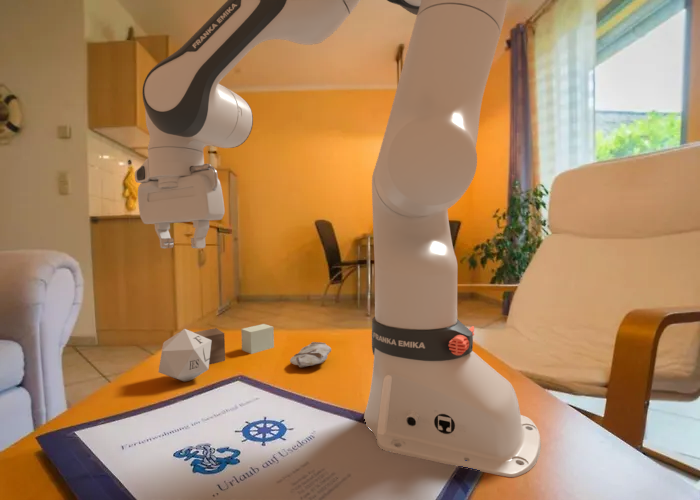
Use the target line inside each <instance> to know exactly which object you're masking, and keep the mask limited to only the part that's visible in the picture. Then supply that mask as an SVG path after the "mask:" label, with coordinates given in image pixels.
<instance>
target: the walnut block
mask: <svg viewBox="0 0 700 500" xmlns="http://www.w3.org/2000/svg"><path fill="white" fill-rule="evenodd" d="M193 332H194V333H196V334H198V335H201V336H203V337H205V338H208V339H210V340H212V342H211V351H210V359H209V365H212V364H213V365H214V364H217V363H222V362H225V361H226V350H225V349H226V347H225V346H226V344H225V342H226V341H225V332H223V331H222V330H220V329H218V328H210V329H209V328H208V329H204V330H199V331H193Z"/></svg>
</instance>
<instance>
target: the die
mask: <svg viewBox="0 0 700 500" xmlns="http://www.w3.org/2000/svg"><path fill="white" fill-rule="evenodd" d="M194 332H195V331H191V330H188V329H186V328H183V329H181V330H180V331H179V332H177V333H176V334H174V335H172V336H171V337H170V338H168V339H167V340H165V341H164V342H163V343H162V348H161V355H160V361H159V366H158V373H159V374H162V375H165V376H167V377H170V378H173V379H175V380H178V381H181V382H184V383H185V382H190V381H192V380H194V379H195V378H197V377H199V376H200V375H202V374H203V373H205V372H207V371H208V370H209V367H210V364H209V359H210V351H211V342H212V340H210V339H208V338H205V337H203V336H201V335H198V334H196V333H194Z"/></svg>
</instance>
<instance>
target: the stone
mask: <svg viewBox="0 0 700 500" xmlns="http://www.w3.org/2000/svg"><path fill="white" fill-rule="evenodd" d="M331 352H332V348H331V347H330V346H329V345H327V344H326V343H325V342H320V341H318V342H317V341H311V343H309V344H308V345H305V346H304V347H302V348H301V349H300V351H298V353H296V354H294V356H292V357H290V359H289V361H290V364H293V365H295V366H298V368H307V367H309V366H315V365H320V364H323V363H324V362H325V361H326V360H327V359H328V355H329V354H330V353H331Z"/></svg>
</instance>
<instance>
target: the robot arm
mask: <svg viewBox="0 0 700 500" xmlns="http://www.w3.org/2000/svg"><path fill="white" fill-rule="evenodd" d="M361 1H362V0H227V1H226V2H225V3H223V4H222V6H220V7H219V8H218V9H217V11H216V12H215V13H214V14H212V16H211V17H210V18H209V19H208V20H207V21H206V22H205V23H204V24H203V25H202V26H201V27H200V28H199V29H198V30H197V31H196V32H195V33H194V34H192V36H191V37H190V38H188V40H187V41H186V42H185V43H184V44H183V45H182V46H181V47H180V48H179V49H177V50H176V51H174V53H172V54H170V55H169V56H167V57H166V58H164V59H162V60H161V61H160V62H159V63H157V64H156V65H155V66H154V67H152V69H150V71H149V72H148V73H147V75H146V76H145V79H144V81H143V85H142V93H141V94H142V100H143V101H142V102H143V105H144V110H145V113H144V114H145V124H146V129H147V130H148V134H149V141H148V144H147V145H148V146H147V158H146V159H145V160H144V162H143V163H142V165H140V166H139V167H138V168H137V169H136V171H135V172H134V180H135V182H136V183H138V187H137V188H138V189H137V203H138V209H139V212H138V213H139V217H140V219H141V222H142V223H143V224H144V225H150V224H151V225H154V231H155V233H156V235H157V237H158V239H159V247H160V248H161V249H173V248H174V241H175V240H174V238H173V237H171V232H170V230H171V225H170V224H175V223H176V224H177V223H189V222H191V223H192V227H193V229H195V230H194V234H193V237H191V238H190V243H191V244H190V245H191V246H190V247H191V248H192V249H205V248H206V238H207V235H208V231H209V230H210V221H220V220H223V217H224V215H225V213H226V212H225V209H226V208H225V203H224V195H223V190H222V189H223V188H222V184H221V180H220V179H219V177H218V171H217V169H216V168H215V167H214V166H213V165H212V164H210V163H205V155H204V149H205V148H206V147H208V146H209V147H210V146H212V147H216V148H222V149H233V148H238V147H239V146H241V145H243V144H244V143H245V142H246V141H247V140H248V138H249V137H250V135H251V133H252V130H253V125H254V117H253V111H252V109H251V106H250V104H249V103H248V102H247V101H246V100H245V99H244V98H242V96H240V95H239V94H237V93H236V92H234V91H233V90H232V89H230V88H228V87H226V86H225V85H222V84H220V82H221V81H222V80H223V79H224V78H225V77H226V76H227V75H228V74H229V73H230V72H231V71H232V70H233V69H234V68H235V67H236V66H237V65H238V63H240V62H241V61H242V60H243V59H244V57H245V56H247V55H248V53H250V52H251V50H253V49H254V48H255V47H257V46H258V45H259V44H261V43H263V42H267V41H271V40H273V41H274V40H281V41H282V40H283V41H288V42H291V43H295V44H297V45H298V44H299V45H303V46H306V45H307V46H310V45H311V46H312V45H317V44H320V43H322V42H324V41H325V40H327V39H329V37H331V36H332V35H333V34H334V33H335V32H336V31H337V30H338V29H339V28H340V27H341V26H342V24H343V23H344V22H345V21H346V19H348V17H349V16H350V15H351V13H352V12H353V11H354V9H356V7H357V6H358V4H359V3H360V2H361ZM386 1H387V2H389V3H390V4H391V3H392V4H394V5H398V6H400V7H402V8H403V9H404V10H405V11H407V12H409V13H410V14H413V15H416V18H415V22H414V25H413V28H412V32H411V36H410V39H409V42H408V45H407V51H406V54H405V57H404V61H403V64H402V67H401V68H402V69H401V72H400V76H399V79H398V82H397V87H396V91H395V94H394V98H393V102H392V106H391V109H390V112H389V113H390V114H389V117H388V121H387V124H386V127H385V132H384V134H383V138H382V142H381V145H380V149H379V153H378V155H377V160H376V163H375V166H374V169H373V172H372V175H371V176H372V177H371V194H372V195H371V199H372V200H371V201H372V204H371V205H372V229H373V230H372V231H373V234H372V235H373V236H372V237H373V254H374V255H373V257H374V317H373V318H372V319H371V349H372V355H373V365H372V366H373V367H372V375H371V376H372V377H371V384H370V389H369V390H370V391H369V396H368V400H367V405H366V408H365V411H364V413H363V420H364V419H365V421H364V423H365V422H366V424H367V426H368V427H369V428H370V429H371V430H372V432H373V433H374V434H375V435H376V436H375V435H374V434H373V433H372V432H371V433H372V434H373V435H374V436H375V440H376V439H377V440H376V444H377V446H379V447H380V448H381V449H380V448H379V447H378V448H379V449H380V450H382V449H383V450H382V451H384V450H385V451H384V452H388V451H391V452H390V453H393V454H397V453H398V454H397V455H402V456H407V457H412V458H417V459H421V460H427V461H431V462H436V463H440V464H445V465H449V464H452V465H451V466H453V465H457V466H456V467H458V466H463V467H468V468H473V469H477V470H480V471H479V472H483V473H488V474H492V475H497V476H502V477H504V478H506V477H507V478H517V477H519V476H522V475H524V474H526V473H528V472H529V471H530V470H531V469H533V468H534V467H535V465H536V463H537V462H538V460H539V457H540V455H541V451H542V450H541V447H542V446H541V445H542V444H541V435H540V431H539V429H538V427H537V425H536V424H535V422H534V421H533V420H532V419H531V418H529V417H528V416H525V415H522V414H521V410H520V405H519V399H518V397H517V394H516V393H517V392H516V391H515V389H514V387H513V385H512V383H511V382H510V381H509V380H508V379H507V378H505V377H504V376H503V375H501V374H500V373H499V372H497V370H496V369H494V368H493V367H492V366H491V365H489V363H487V362H486V361H485V360H483V359H482V357H480V356H479V355H478V354H477V353H476V352H474V351H473V346H474V343H473V342H474V340H473V338H474V336H475V326H474V325H472V326H470V328H468V327H467V326H466V325H465V324H463V323H462V322H461V321H460V320H459V319H458V270H459V269H458V267H459V266H458V260H457V256H456V253H455V249H454V246H453V245H454V244H453V239H452V235H451V227H450V222H449V211H448V209H450V208H452V207H453V206H454V205H455V204H456V203H457V202H459V200H460V199H461V198H462V197H463V196H464V194H465V193H466V192H467V190H468V189H469V187H470V185H471V184H472V182H473V180H474V177H475V175H476V171H477V166H478V153H477V148H476V147H477V142H478V137H479V136H478V135H479V126H480V118H481V117H480V116H481V115H480V114H481V108H482V103H483V97H484V93H485V89H486V85H487V82H488V78H489V76H490V71H491V69H492V64H493V63H494V62H493V61H494V58H495V54H496V51H497V47H498V44H499V41H500V37H501V33H502V30H503V27H504V26H503V25H504V23H505V16H506V12H507V7H508V1H509V0H386ZM366 424H365V425H366ZM367 426H366V427H367ZM465 460H467V461H465ZM463 467H462V468H463ZM468 468H467V469H468ZM477 470H476V471H477Z"/></svg>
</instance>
